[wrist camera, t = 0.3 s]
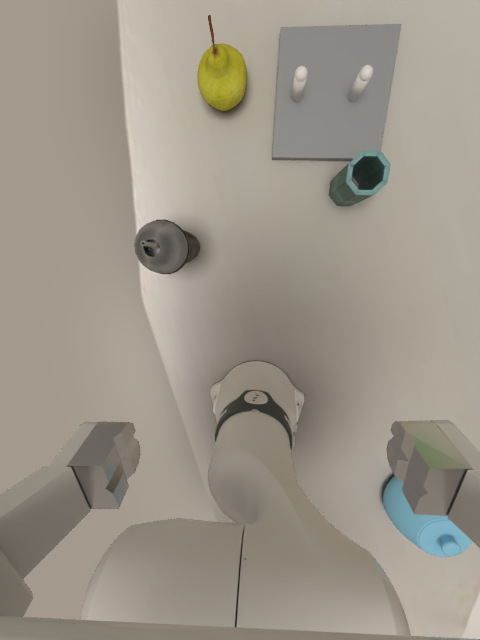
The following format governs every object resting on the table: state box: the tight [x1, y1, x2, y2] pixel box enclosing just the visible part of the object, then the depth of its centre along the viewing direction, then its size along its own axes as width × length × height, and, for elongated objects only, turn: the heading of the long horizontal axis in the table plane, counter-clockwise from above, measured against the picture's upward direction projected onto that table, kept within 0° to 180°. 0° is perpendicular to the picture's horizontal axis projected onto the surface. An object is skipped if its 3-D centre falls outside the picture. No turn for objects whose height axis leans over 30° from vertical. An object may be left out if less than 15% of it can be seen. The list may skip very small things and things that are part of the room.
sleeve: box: [329, 150, 390, 206], centre depth 38 cm, size 5×5×10 cm
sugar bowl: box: [383, 476, 472, 557], centre depth 52 cm, size 15×15×12 cm
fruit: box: [198, 15, 247, 111], centre depth 35 cm, size 7×7×12 cm
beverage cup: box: [135, 220, 200, 274], centre depth 38 cm, size 7×7×20 cm
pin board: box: [272, 24, 401, 161], centre depth 37 cm, size 16×16×7 cm
